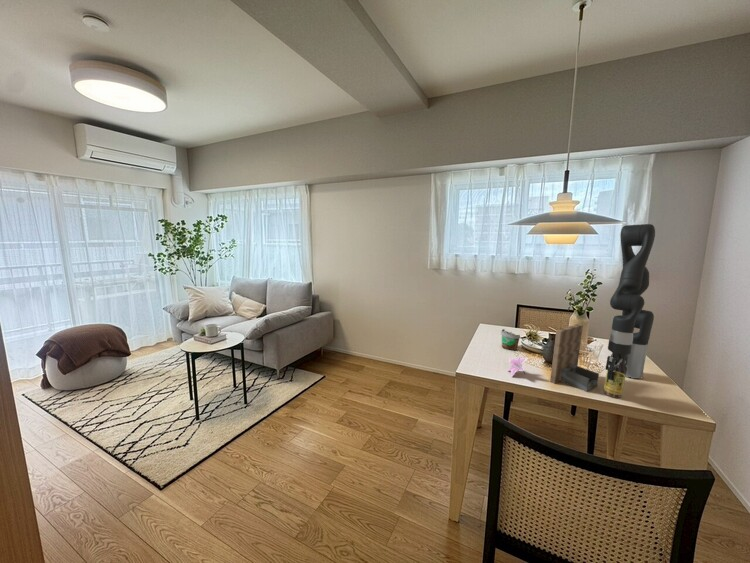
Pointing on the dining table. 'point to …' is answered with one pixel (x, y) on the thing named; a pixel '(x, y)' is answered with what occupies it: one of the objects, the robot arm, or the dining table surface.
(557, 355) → the wavy bookend stand
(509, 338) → the food container
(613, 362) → the robot arm
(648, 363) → the dining table surface
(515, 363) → the lily
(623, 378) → the sauce bottle
